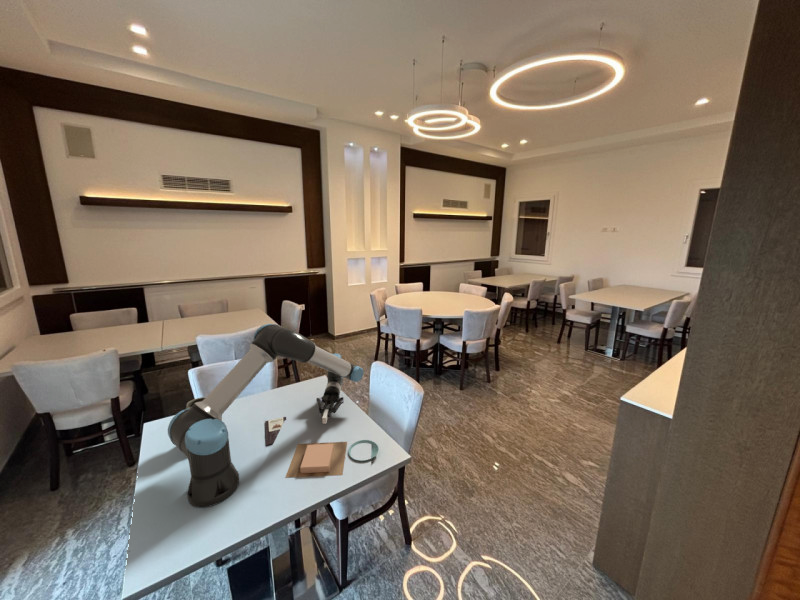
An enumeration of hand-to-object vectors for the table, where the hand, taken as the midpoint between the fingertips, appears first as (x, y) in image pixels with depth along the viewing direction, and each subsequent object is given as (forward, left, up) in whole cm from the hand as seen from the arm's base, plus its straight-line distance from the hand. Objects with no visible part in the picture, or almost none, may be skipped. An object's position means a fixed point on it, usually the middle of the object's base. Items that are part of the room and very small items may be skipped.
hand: (324, 420), depth 131 cm
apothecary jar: (-50, +1, -8) cm, 51 cm away
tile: (0, -10, -5) cm, 11 cm away
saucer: (+17, -12, -8) cm, 22 cm away
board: (0, -14, -8) cm, 16 cm away
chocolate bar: (-22, +6, -9) cm, 24 cm away
